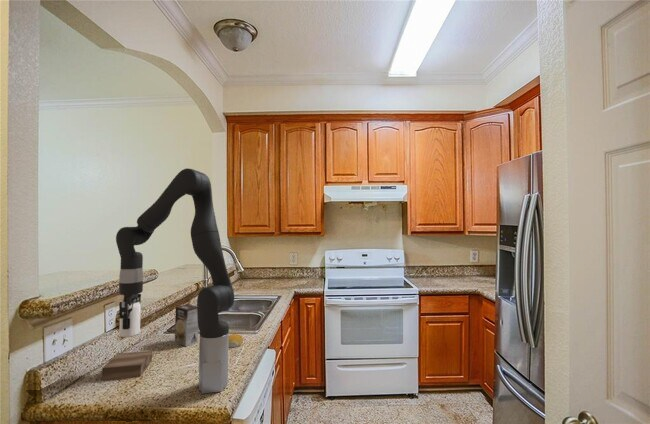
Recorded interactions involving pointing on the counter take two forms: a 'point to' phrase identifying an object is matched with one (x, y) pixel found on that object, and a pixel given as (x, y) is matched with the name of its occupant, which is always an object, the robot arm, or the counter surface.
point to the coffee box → (186, 325)
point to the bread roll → (235, 340)
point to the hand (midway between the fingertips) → (130, 325)
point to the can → (131, 322)
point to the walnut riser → (127, 365)
